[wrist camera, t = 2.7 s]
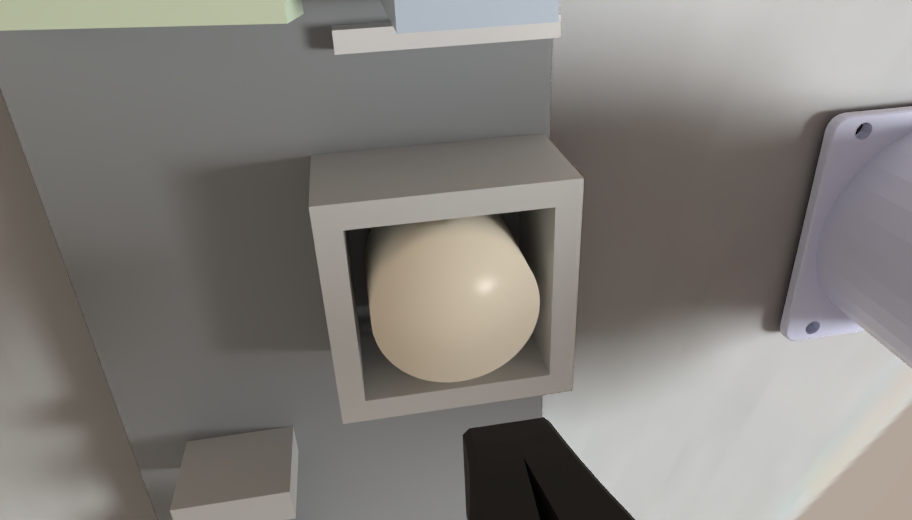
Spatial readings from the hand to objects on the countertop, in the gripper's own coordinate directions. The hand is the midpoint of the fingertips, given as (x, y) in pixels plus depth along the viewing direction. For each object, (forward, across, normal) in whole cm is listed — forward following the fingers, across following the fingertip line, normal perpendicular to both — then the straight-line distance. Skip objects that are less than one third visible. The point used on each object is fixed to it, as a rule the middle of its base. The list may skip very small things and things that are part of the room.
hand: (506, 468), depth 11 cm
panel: (+10, +3, +3) cm, 11 cm away
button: (+7, 0, 0) cm, 7 cm away
